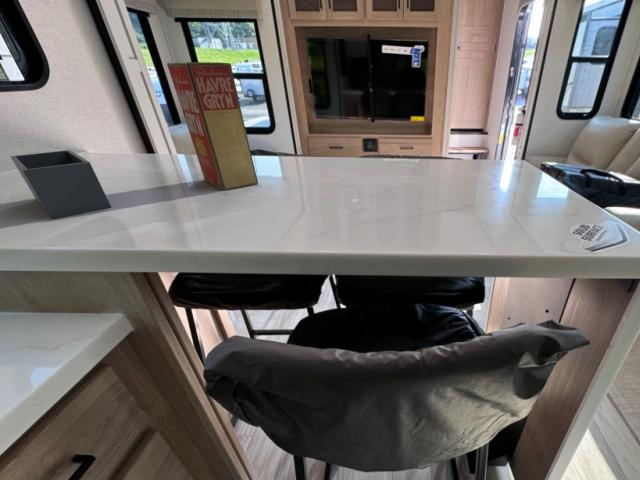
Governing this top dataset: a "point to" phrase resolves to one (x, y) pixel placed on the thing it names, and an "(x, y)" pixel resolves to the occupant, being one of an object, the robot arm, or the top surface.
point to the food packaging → (215, 122)
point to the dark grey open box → (62, 182)
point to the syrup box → (8, 65)
